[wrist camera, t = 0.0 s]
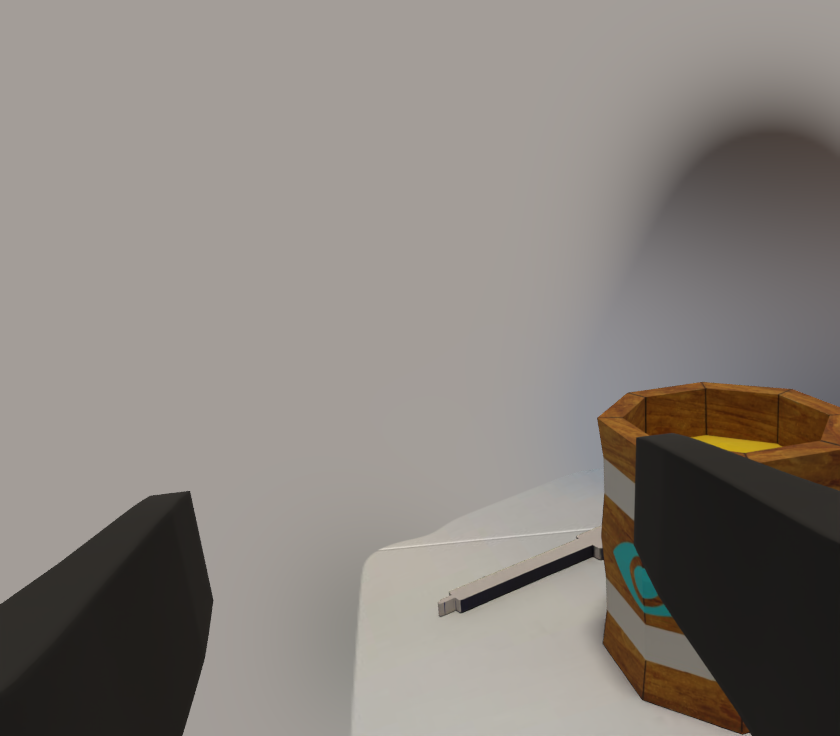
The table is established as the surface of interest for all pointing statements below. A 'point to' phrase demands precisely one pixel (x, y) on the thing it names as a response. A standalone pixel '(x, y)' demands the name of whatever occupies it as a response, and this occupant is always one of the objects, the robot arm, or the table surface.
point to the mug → (625, 574)
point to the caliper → (523, 573)
